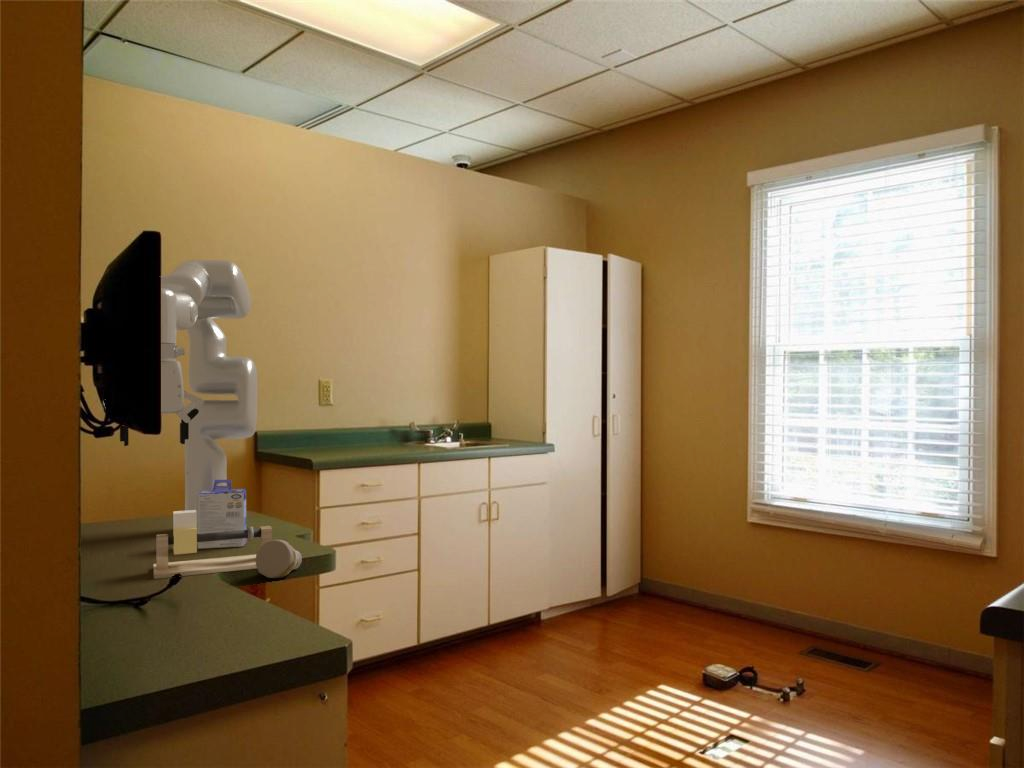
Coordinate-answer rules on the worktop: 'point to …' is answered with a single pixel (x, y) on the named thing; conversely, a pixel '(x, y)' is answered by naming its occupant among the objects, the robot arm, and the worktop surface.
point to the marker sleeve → (185, 532)
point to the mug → (277, 559)
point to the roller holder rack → (208, 565)
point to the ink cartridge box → (221, 514)
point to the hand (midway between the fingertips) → (154, 444)
